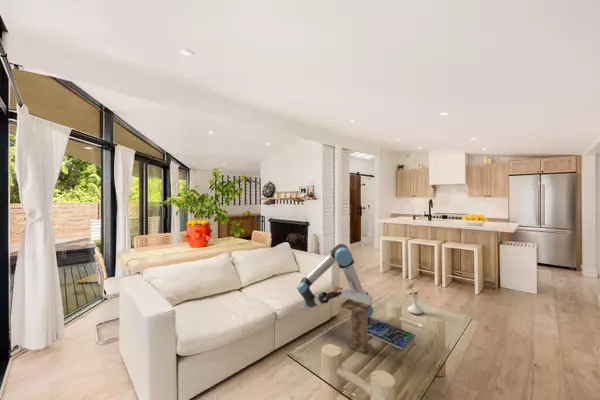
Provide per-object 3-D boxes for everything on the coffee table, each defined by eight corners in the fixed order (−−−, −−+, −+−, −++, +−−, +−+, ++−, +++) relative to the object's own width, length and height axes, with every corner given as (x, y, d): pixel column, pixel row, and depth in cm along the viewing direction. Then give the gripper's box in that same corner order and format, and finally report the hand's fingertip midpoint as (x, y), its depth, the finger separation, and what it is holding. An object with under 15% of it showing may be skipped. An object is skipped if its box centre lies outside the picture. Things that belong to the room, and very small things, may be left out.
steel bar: (333, 294, 185) (333, 288, 185) (336, 292, 188) (336, 286, 188) (369, 304, 169) (369, 298, 169) (372, 302, 172) (372, 296, 172)
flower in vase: (418, 308, 229) (419, 280, 227) (425, 315, 218) (426, 285, 216) (403, 308, 229) (404, 280, 227) (409, 315, 218) (410, 285, 216)
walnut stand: (341, 344, 181) (341, 304, 179) (347, 337, 189) (348, 298, 186) (364, 354, 170) (365, 311, 168) (370, 346, 178) (371, 305, 176)
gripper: (330, 299, 200) (355, 290, 187) (317, 308, 186) (343, 299, 173) (326, 289, 202) (350, 280, 188) (312, 297, 188) (338, 288, 175)
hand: (347, 289), depth 181 cm, fingers closed on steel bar, 4 cm apart
